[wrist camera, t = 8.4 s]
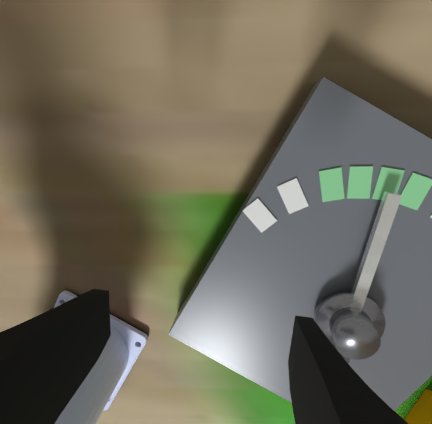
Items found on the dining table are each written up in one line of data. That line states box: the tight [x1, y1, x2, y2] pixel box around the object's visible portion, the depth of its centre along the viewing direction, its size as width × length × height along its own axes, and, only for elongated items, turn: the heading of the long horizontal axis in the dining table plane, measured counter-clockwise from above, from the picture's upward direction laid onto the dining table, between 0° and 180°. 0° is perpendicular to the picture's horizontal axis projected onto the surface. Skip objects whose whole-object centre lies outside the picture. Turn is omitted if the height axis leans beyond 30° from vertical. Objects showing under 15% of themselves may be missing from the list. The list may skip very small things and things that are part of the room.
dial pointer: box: [314, 191, 402, 364], centre depth 16 cm, size 14×4×4 cm, turn 171°
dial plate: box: [168, 77, 432, 411], centre depth 20 cm, size 19×16×3 cm
